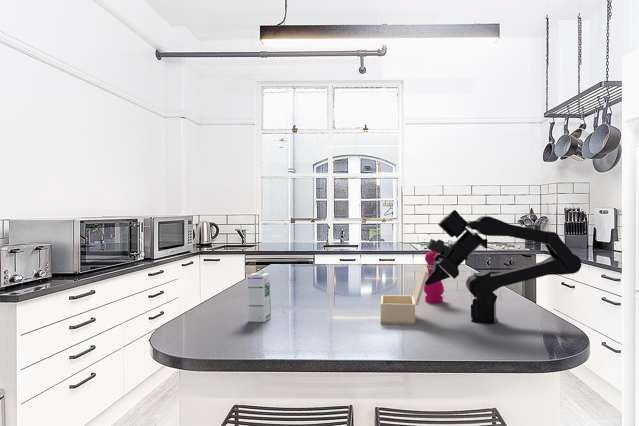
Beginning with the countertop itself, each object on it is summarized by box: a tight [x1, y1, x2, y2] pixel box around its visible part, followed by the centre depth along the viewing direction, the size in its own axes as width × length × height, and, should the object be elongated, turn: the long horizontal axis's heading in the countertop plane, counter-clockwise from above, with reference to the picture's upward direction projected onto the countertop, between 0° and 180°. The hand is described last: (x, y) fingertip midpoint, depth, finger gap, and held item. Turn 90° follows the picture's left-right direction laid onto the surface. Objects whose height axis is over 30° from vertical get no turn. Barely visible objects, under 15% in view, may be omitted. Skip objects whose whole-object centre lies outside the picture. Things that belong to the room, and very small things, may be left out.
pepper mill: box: [423, 250, 445, 304], centre depth 169 cm, size 7×7×20 cm
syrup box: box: [246, 272, 272, 323], centre depth 145 cm, size 6×6×14 cm
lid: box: [412, 265, 428, 306], centre depth 142 cm, size 10×14×1 cm
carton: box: [380, 294, 416, 326], centre depth 143 cm, size 10×14×6 cm
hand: (425, 284), depth 142 cm, fingers closed
